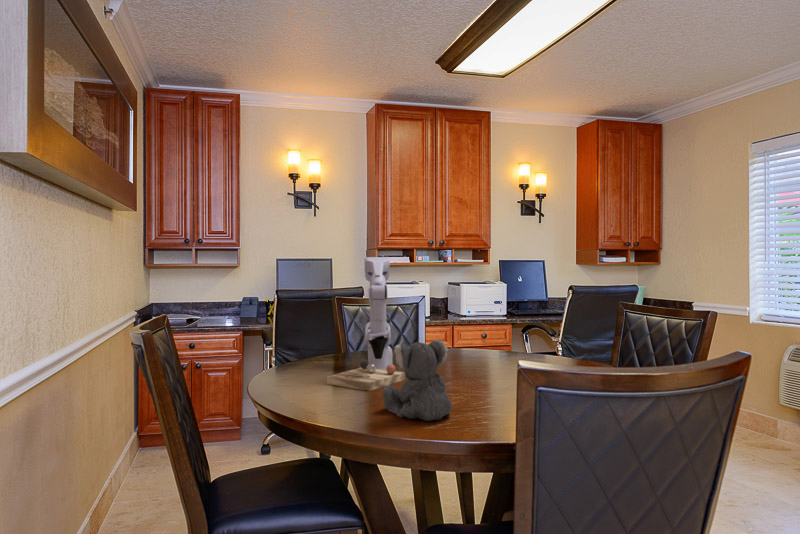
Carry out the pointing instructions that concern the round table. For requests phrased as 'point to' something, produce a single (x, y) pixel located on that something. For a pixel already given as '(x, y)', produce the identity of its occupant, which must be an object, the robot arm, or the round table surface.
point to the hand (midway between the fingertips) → (378, 358)
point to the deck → (365, 379)
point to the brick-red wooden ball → (390, 369)
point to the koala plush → (419, 383)
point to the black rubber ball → (364, 364)
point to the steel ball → (371, 368)
